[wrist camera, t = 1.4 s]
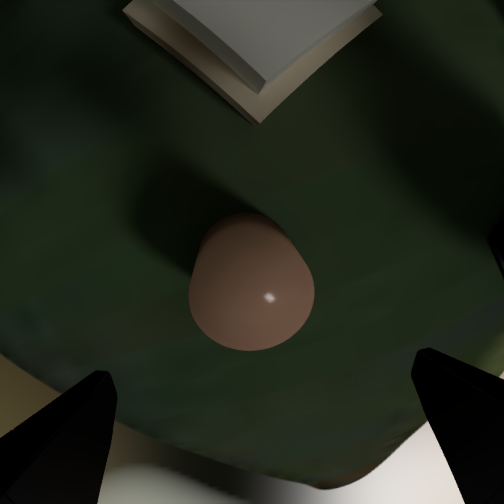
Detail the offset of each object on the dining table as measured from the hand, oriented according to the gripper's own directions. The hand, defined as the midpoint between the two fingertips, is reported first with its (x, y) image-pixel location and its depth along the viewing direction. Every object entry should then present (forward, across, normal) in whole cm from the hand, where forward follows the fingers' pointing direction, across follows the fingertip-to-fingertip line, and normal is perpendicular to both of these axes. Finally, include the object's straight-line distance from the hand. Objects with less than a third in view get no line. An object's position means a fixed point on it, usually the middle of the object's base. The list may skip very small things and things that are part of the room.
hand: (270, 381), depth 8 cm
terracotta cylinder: (+10, 0, 0) cm, 10 cm away
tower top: (+8, -1, -13) cm, 15 cm away
